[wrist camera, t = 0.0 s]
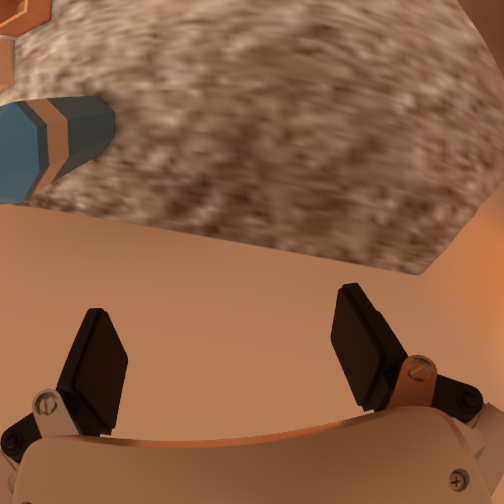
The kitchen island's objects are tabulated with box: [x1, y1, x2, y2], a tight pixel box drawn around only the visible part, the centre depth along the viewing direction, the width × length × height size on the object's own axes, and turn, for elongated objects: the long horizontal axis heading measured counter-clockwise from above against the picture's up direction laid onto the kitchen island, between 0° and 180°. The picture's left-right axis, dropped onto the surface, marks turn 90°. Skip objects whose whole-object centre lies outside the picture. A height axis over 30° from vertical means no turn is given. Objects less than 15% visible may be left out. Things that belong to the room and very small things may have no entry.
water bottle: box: [0, 96, 114, 205], centre depth 22 cm, size 9×9×25 cm
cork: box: [17, 1, 25, 14], centre depth 19 cm, size 2×2×3 cm
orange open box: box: [0, 0, 52, 37], centre depth 18 cm, size 7×7×7 cm
